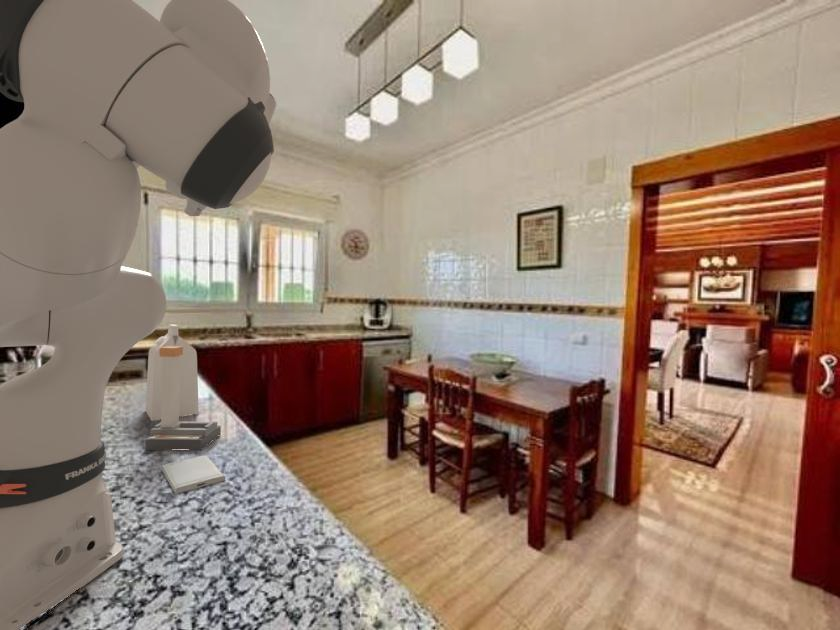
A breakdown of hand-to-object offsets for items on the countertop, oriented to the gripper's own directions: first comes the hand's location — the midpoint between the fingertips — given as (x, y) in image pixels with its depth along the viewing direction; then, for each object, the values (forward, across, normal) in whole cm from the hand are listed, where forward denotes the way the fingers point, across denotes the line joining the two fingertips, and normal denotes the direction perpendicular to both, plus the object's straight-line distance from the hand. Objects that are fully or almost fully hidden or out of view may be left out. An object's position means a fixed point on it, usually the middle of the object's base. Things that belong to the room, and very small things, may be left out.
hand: (191, 214), depth 82 cm
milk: (+61, +18, -13) cm, 65 cm away
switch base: (+47, -4, -25) cm, 53 cm away
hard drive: (+38, -20, -33) cm, 54 cm away
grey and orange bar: (+46, -4, -21) cm, 51 cm away
